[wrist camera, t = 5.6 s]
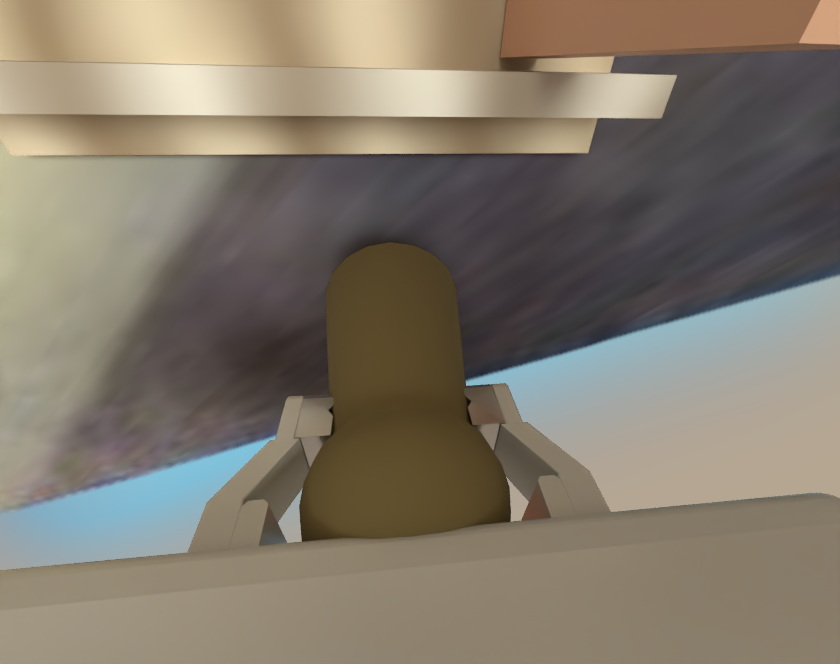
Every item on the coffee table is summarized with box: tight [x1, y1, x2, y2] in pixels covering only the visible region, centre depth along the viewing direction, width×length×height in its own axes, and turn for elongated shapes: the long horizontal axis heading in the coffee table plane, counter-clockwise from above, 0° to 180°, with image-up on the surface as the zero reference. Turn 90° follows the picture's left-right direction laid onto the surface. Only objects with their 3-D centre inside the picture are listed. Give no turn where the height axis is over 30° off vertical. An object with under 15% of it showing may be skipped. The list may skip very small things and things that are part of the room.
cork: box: [299, 242, 511, 542], centre depth 12 cm, size 6×6×11 cm
